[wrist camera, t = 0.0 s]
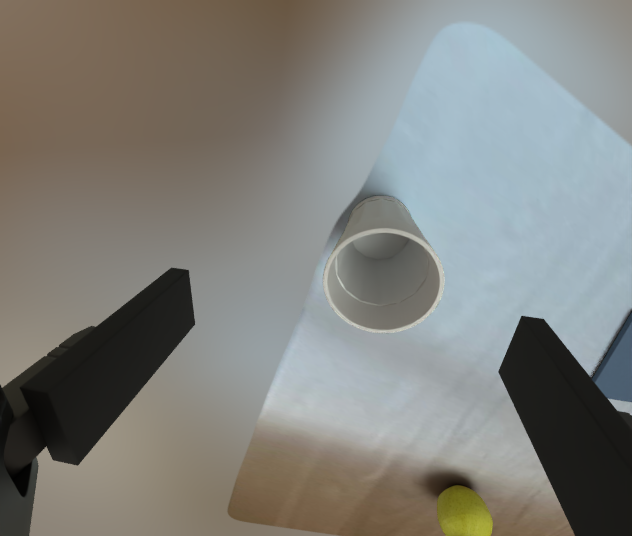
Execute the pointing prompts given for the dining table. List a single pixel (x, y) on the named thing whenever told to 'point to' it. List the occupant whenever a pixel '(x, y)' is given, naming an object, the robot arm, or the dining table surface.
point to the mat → (617, 367)
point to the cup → (383, 269)
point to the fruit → (463, 513)
